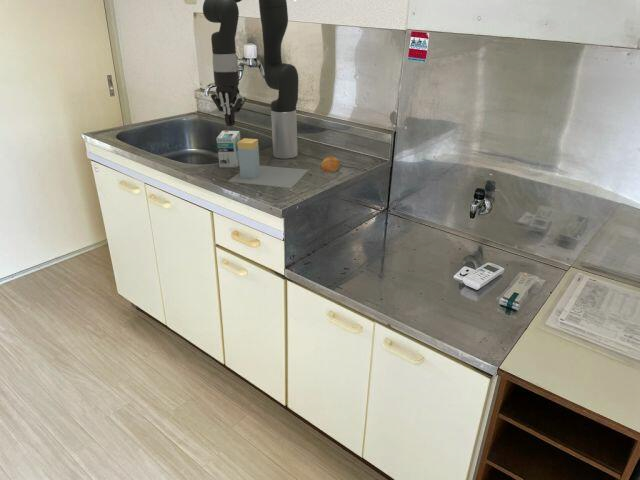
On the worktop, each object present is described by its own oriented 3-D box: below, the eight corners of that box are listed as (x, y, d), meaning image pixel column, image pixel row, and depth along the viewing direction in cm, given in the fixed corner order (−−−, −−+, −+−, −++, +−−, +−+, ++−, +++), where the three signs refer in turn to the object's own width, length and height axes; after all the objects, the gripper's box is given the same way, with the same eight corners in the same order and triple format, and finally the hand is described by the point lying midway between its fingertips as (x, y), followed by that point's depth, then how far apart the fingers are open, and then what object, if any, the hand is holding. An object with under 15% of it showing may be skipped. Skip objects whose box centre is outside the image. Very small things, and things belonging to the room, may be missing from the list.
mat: (250, 165, 172) (250, 164, 172) (308, 171, 167) (308, 169, 167) (227, 182, 157) (227, 181, 157) (291, 189, 151) (291, 187, 151)
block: (246, 172, 164) (243, 138, 159) (260, 174, 163) (257, 139, 157) (240, 177, 160) (237, 142, 155) (254, 178, 159) (251, 143, 153)
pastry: (339, 175, 164) (339, 164, 162) (320, 175, 164) (319, 164, 162) (340, 166, 172) (340, 155, 170) (321, 166, 172) (321, 155, 171)
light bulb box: (237, 168, 170) (235, 138, 165) (218, 168, 171) (215, 138, 166) (242, 158, 180) (240, 130, 175) (224, 158, 180) (222, 130, 175)
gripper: (201, 69, 147) (207, 125, 155) (234, 72, 141) (238, 130, 149) (217, 66, 153) (222, 120, 161) (250, 69, 147) (253, 125, 155)
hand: (230, 125), depth 155 cm, fingers closed
